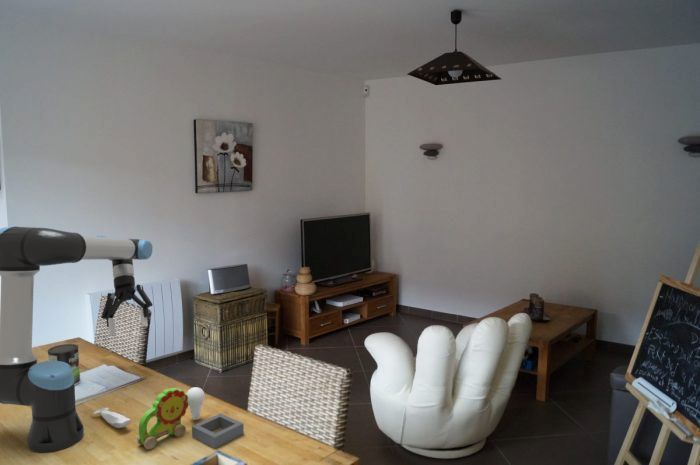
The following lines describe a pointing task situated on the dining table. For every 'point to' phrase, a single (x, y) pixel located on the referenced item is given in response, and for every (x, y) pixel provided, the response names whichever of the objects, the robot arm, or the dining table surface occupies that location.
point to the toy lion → (164, 417)
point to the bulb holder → (217, 430)
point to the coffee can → (67, 358)
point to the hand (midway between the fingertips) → (128, 330)
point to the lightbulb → (195, 401)
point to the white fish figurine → (113, 418)
